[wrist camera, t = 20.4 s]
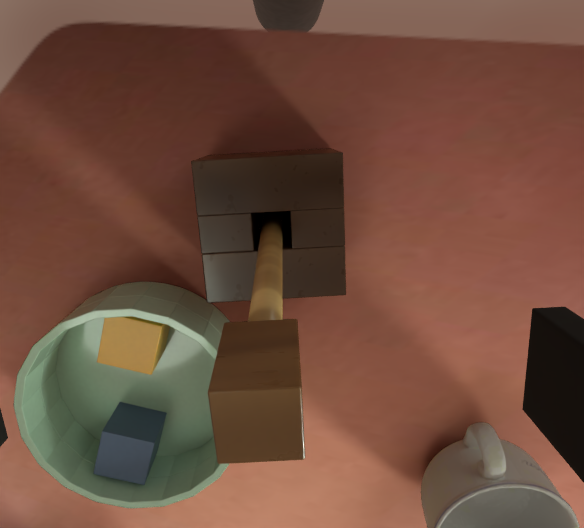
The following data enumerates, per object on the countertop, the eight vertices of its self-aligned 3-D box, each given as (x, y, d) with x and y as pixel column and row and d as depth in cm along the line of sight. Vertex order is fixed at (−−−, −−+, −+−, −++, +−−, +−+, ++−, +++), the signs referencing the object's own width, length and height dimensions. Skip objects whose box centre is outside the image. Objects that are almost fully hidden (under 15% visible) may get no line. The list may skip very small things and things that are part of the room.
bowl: (36, 287, 37) (-10, 316, 31) (241, 275, 37) (233, 302, 31) (73, 460, 41) (39, 514, 36) (256, 450, 41) (252, 501, 36)
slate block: (119, 401, 39) (101, 431, 35) (167, 412, 39) (154, 443, 36) (111, 441, 40) (93, 474, 36) (157, 451, 40) (144, 485, 37)
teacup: (520, 516, 44) (570, 598, 36) (405, 520, 44) (431, 603, 36) (537, 384, 40) (597, 444, 33) (411, 388, 40) (442, 450, 32)
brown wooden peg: (254, 193, 35) (207, 391, 13) (289, 192, 35) (301, 387, 13) (257, 227, 36) (216, 465, 14) (291, 225, 36) (305, 460, 14)
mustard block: (123, 293, 36) (105, 312, 33) (174, 305, 37) (162, 326, 33) (115, 339, 37) (96, 362, 34) (164, 350, 38) (151, 375, 34)
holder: (208, 154, 34) (191, 161, 28) (330, 148, 34) (342, 152, 28) (220, 271, 37) (206, 303, 30) (334, 265, 37) (346, 295, 30)
